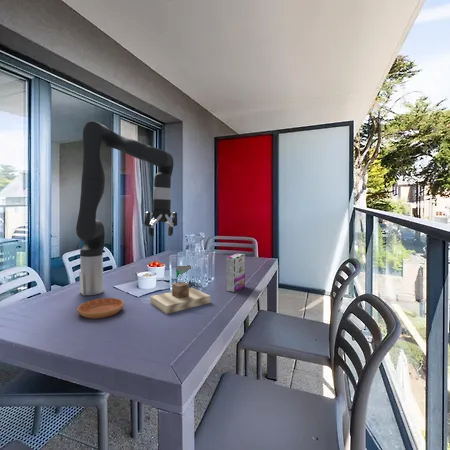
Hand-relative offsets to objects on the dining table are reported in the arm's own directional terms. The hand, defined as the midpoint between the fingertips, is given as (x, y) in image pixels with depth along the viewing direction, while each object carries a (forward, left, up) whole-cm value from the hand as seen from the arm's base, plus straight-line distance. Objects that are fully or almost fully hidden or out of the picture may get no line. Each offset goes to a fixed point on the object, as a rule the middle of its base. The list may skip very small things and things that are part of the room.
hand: (160, 236), depth 124 cm
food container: (+20, +12, -27) cm, 35 cm away
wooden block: (+3, -12, -27) cm, 30 cm away
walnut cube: (+3, -12, -24) cm, 27 cm away
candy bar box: (+34, -11, -27) cm, 45 cm away
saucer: (-26, -3, -27) cm, 38 cm away
